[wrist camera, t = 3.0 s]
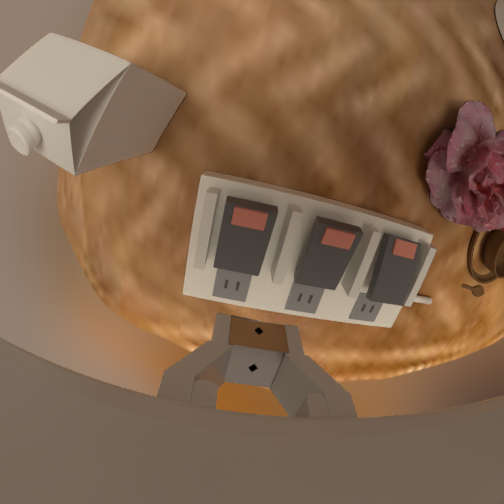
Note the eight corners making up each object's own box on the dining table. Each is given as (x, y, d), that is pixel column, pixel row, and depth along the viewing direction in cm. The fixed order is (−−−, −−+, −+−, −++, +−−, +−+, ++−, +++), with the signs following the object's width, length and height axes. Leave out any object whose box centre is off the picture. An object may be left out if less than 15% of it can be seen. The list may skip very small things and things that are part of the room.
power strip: (456, 239, 32) (480, 256, 27) (419, 319, 37) (436, 342, 32) (205, 170, 28) (196, 179, 23) (187, 280, 34) (177, 307, 28)
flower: (451, 73, 21) (512, 100, 13) (507, 141, 25) (554, 179, 18) (388, 172, 30) (428, 224, 22) (454, 217, 34) (489, 265, 27)
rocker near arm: (413, 240, 28) (423, 244, 26) (395, 300, 30) (404, 307, 28) (381, 231, 28) (391, 234, 26) (363, 295, 29) (371, 302, 27)
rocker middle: (358, 224, 26) (364, 235, 24) (332, 279, 30) (335, 292, 28) (315, 213, 26) (319, 224, 24) (293, 272, 30) (294, 285, 28)
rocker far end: (277, 204, 25) (278, 214, 24) (258, 265, 29) (258, 278, 28) (228, 193, 25) (225, 203, 23) (215, 256, 29) (212, 269, 27)
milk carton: (133, 66, 24) (10, 19, 6) (188, 93, 25) (95, 45, 8) (101, 124, 26) (-36, 141, 8) (152, 152, 28) (32, 194, 10)
